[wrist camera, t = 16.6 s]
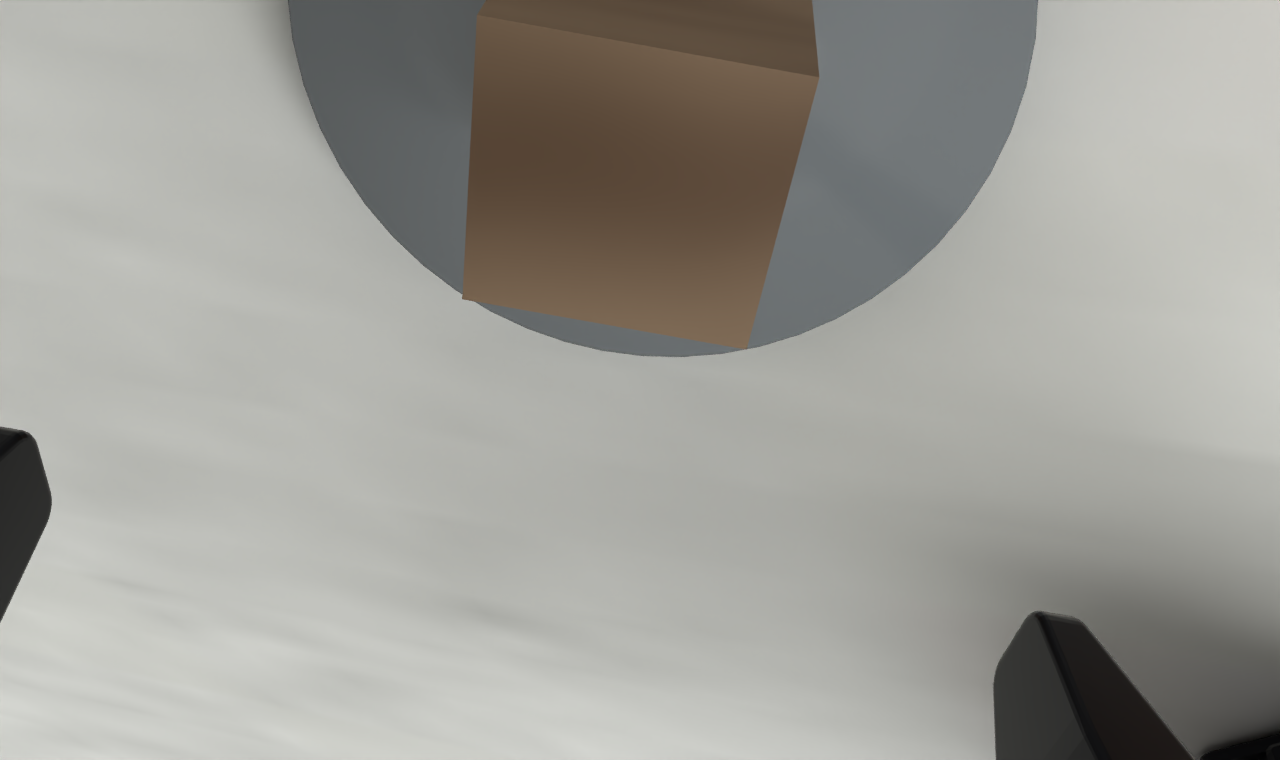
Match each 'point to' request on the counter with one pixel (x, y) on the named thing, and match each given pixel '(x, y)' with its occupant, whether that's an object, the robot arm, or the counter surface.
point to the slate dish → (824, 174)
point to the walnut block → (635, 158)
